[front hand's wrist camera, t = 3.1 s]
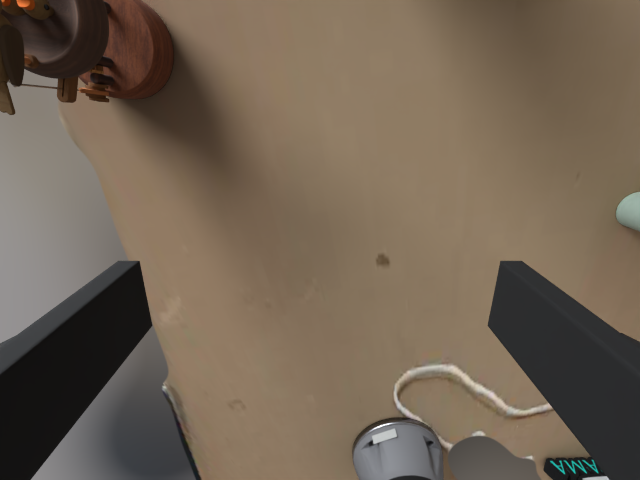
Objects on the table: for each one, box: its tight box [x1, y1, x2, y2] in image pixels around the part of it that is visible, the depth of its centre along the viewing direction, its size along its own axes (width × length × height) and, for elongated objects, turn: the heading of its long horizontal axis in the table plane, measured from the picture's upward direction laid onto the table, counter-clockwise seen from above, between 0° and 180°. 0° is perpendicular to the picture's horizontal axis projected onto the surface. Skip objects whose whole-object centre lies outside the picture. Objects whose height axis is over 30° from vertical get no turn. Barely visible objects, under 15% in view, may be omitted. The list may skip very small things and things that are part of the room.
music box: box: [0, 0, 174, 115], centre depth 29 cm, size 15×11×20 cm
